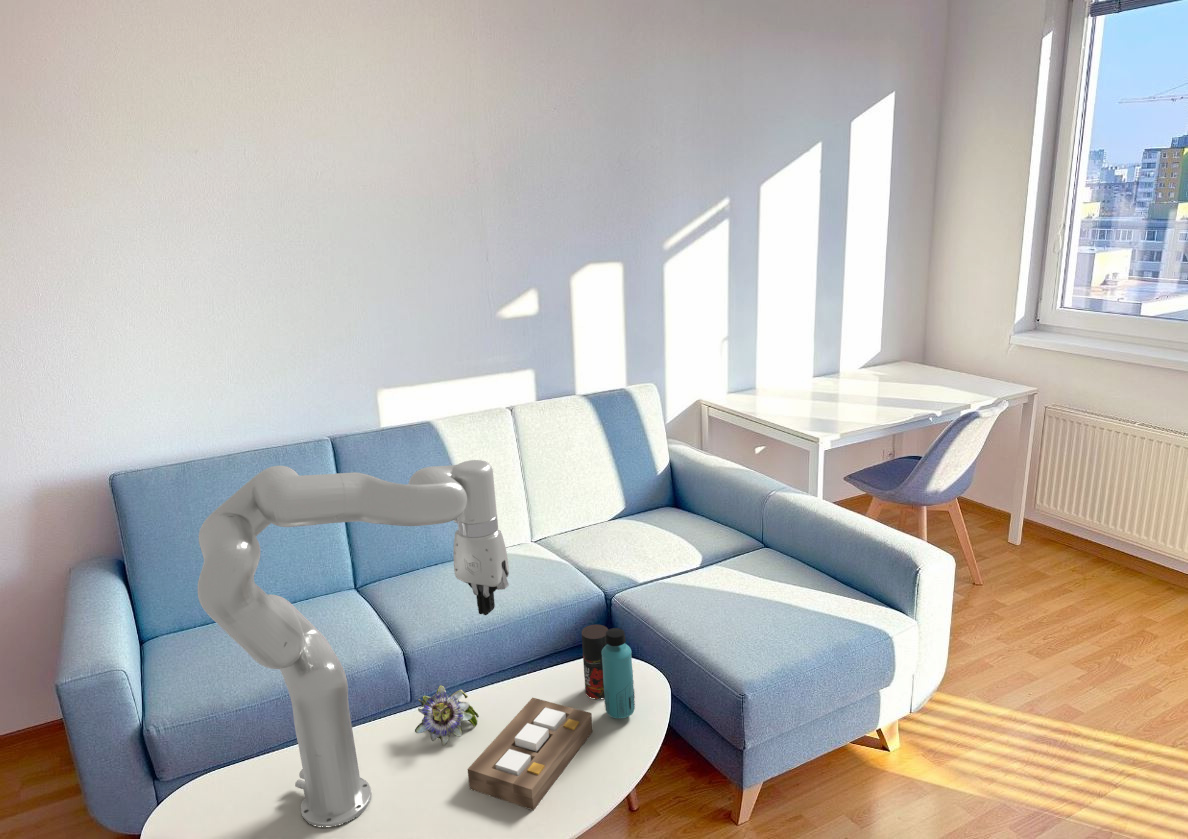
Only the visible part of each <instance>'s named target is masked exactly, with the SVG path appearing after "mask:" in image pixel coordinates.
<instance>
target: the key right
mask: <svg viewBox="0 0 1188 839" xmlns="http://www.w3.org/2000/svg"><path fill="white" fill-rule="evenodd" d="M565 719H566V713H564V712H560V711H557V710H553V709H549V708H544V709H543V710H542V712H541V713H540V714H539V715H538V716H537V717H536V719H535V720H534V721H533V722H534V725H536V726H539V727H543V728H547V729H549V730H552V731H556V730H557V729H558V728H559V726H560V725H561V724H562V723H563V722H564V720H565Z"/></svg>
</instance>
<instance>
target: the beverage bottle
mask: <svg viewBox="0 0 1188 839" xmlns="http://www.w3.org/2000/svg"><path fill="white" fill-rule="evenodd" d="M625 634H626V633H625V631H624V630H623V629H622V628H619V627H613V628H608V631H607V632H606V643H607V645H606V646H605V647H604V648H603V649H602V652H601V653H602V664H603V683H604V684H603V685H604V690H603V693H604V699H603V702H604V708H605V709H604V710H605V712H606V713H607V715H608V716H609V717H611V718H614V719H625V718H628V717H630V716H632V715H633V714H634V711H635V709H636V700H635V687H634V686H635V684H634V670H633V661H632V660H633V659H632V658H633V657H632V649H631V647H630V646H629V645H628V644H627V643H626V635H625Z"/></svg>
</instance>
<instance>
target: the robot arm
mask: <svg viewBox="0 0 1188 839" xmlns="http://www.w3.org/2000/svg"><path fill="white" fill-rule="evenodd" d="M496 501H497V500H496V490H495V479H494V469H493V467H492V465H491V464H490V462H488V461H486V460H481V459H470V460H465V461H462V462H460V463H457V464H450V465H435V466H426V467H423V468H421V469H419V470H417V471H415V472H414V473H413V474H412V475H411V476H410V478H409V481H408V483H407V484H404V483H396V482H392V481H387V480H384V479H381V478H379V477H376V476H373V475H369V474H366V473H361V472H355V471H353V472H343V473H341V472H340V473H339V472H337V473H329V474H328V473H326V474H325V473H324V474H323V473H322V474H304V475H299V473H297V472H296V470H294V469H293V468H291V467H289V466H286V465H274V466H270V467H267V468H265V469H264V470H263V469H262V471H260V472H258V473H257V474H256V475H254V477H252V478H251V479H249V481H247V482H246V483H245V484H244V485H242V486H241V487H240V488H239V489H238V490H237V491H235V493H233V494H232V495H231V496H230V497H229V498H228V499H226V500H225V501H224V502H223V503H221V504H220V505H219V506H218V507H216V509H215V510H214V511H213V512H211V513H210V514H209V515H208V516H207V517H206V519H205V520H204V522H203V523H202V525H200V526H201V527H200V528H199V532H198V544H199V548H200V550H201V553H202V557H203V563H202V567H201V569H200V570H201V571H200V573H199V576H198V582H197V596H198V601H199V605H200V606H201V607H202V610H203V611H204V612H205V613H206V614H207V615H208V616H209V617H210V618H211V619H212V620H213V621H214V622H215V623H216V624H217V625H218V626H219V627H220V628H221V629H222V630H223V631H225V633H227V634H226V635H228V636H229V637H230V638H231V639H232V640H233V641H234V642H236V644H238V646H240V647H241V648H242V649H243V650H244V651H245V652H246V653H247V654H248V655H249V656H250V657H251V658H252V660H253V661H255V662H256V663H257V664H259V665H261V666H263V667H264V668H266V669H267V668H268V669H270V670H279V671H280V672H281V675H282V678H283V680H284V684H285V686H286V688H287V690H288V694H289V698H290V701H291V707H292V716H293V722H294V723H293V724H294V729H295V735H296V736H295V737H296V740H297V745H298V749H299V750H298V751H299V756H300V761H301V766H302V769H300V771H299V778H300V779H297V780H296V781H295V787H296V788H297V789H301V790H303V795H304V797H303V798H302V801H301V804H300V812H301V813H302V814H301V816H303V817H302V819H303V818H304V819H305V820H306V821H307V822H308V823H310V824H312V825H316V826H321V827H322V826H323V827H326V826H335V825H339V824H342V823H344V822H347V823H349V822H351V821H353V820H354V819H356V818H357V817H358V816H360V815H361V814H362V813H363V812H364V811H365V810H366V809H367V807H368V806H369V804H370V803H371V799H372V788H371V786H370V783H369V782H368V781H367V780H365V779H364V778H363V777H361V775H360V769H359V763H358V758H357V757H358V756H357V751H356V744H355V737H354V732H353V725H352V719H351V712H350V706H349V686H348V684H349V683H348V679H347V676H346V671H345V670H344V667H343V665H342V663H341V661H340V659H339V658H338V655H337V654H336V653H335V651H334V649H333V648H332V645H331V644H330V642H329V641H328V640H327V638H326V637H325V636H324V634H322V633H321V631H320V630H318V628H317V627H316V626H314V624H313V623H311V622H310V621H309V620H308V619H307V618H306V617H305V616H304V614H303V613H301V612H300V611H299V610H298V609H297V608H296V607H295V605H293V604H292V603H291V602H290V601H289V600H288V599H286V598H284V597H282V596H280V595H276V594H267V593H266V592H265V591H264V590H263V589H262V588H261V587H260V586H259V585H257V584H256V583H255V574H256V573H257V572H256V571H257V570H258V569H257V568H258V566H259V564H260V561H261V560H260V559H261V545H260V543H259V541H258V538H257V537H258V536H259V535H260V534H261V533H262V532H263V531H264V530H265V529H266V528H267V527H268V526H270V524H272V525H274V526H276V527H282V528H295V527H296V528H298V527H306V526H307V527H308V526H317V525H328V524H339V523H341V524H342V523H343V524H344V523H352V522H353V523H354V522H362V523H368V524H375V525H389V526H398V527H422V526H432V525H443V524H446V523H450V522H454V524H455V523H456V524H457V528H458V529H457V530H456V531H454V532H455V533H454V538H453V539H454V540H453V570H454V571H453V572H454V576H455V578H456V579H457V580H458V581H461V582H463V583H466V584H468V586H469V587H470V588H471V590H472V594H473V595H474V596H476V604H477V610H478V615H483V616H488V615H489V614H490V613H491V612H492V611H493V610H494V609H495V605H496V604H495V594H494V593H495V592H496V590H497V591H498V590H499V591H501V590H506V588H508V587H509V581H508V577H509V574H510V568H509V567H510V566H509V559H508V554H507V552H508V551H507V549H506V548H507V547H506V542H505V539H504V537H503V532H502V531H501V530H500V529H499V523H498V514H497V513H498V511H497V502H496ZM355 817H356V818H355ZM353 818H354V819H353ZM304 819H303V820H304ZM352 819H353V820H352ZM305 820H304V821H305ZM350 820H351V821H350ZM306 821H305V822H306ZM348 821H349V822H348ZM307 822H306V823H307ZM308 823H307V824H308ZM310 824H309V825H310ZM312 825H311V826H312ZM342 825H343V824H342ZM339 826H340V825H339ZM321 827H320V828H321ZM335 827H336V826H335Z"/></svg>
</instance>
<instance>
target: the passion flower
mask: <svg viewBox="0 0 1188 839" xmlns="http://www.w3.org/2000/svg"><path fill="white" fill-rule="evenodd" d="M462 696H464V698H465V699H467V698H468V694H466V693H465V692H464V691H463V690H462V689H459V690H457V691H455V692H453V693H452V694H451V695H450V694H447V691H446V689H445V687H444V686H443V685H442V684H440V685H439V686H438V688H437V690H436V693H434V694H433V695H431V696H428V695H423V696H422V700H421V699H420V698H418V700H417V701H418V702H419V703H420V704H421V706H420V707H418V708H417V711H418V713H421V714H422V715H423V718H422V719H421V722H420V723H419V724H418V725H416V727H415V729H414V733H416V734H421V733H423V732H425V731H426V732H427V731H428V732H429V733H430V734H429V735H430V739H431V741H432V742H434V741H436V740H438V739H439V740H441V744H442V746H445V745H446V744H448V742H449V738H450V735H451V734H453V735H454V736H455V737H458V738H461V737H462V733H463V730H462V729H463V728H462V723H463V722H469V723H470V725H472V726H473V727H474V728H475V727H477V725H478V719H477V718H479V714H478V712H477V711H476V710H475V708H473V706H472V705H471V704H470V703H469V702H467V701H460V699H461V698H462Z"/></svg>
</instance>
